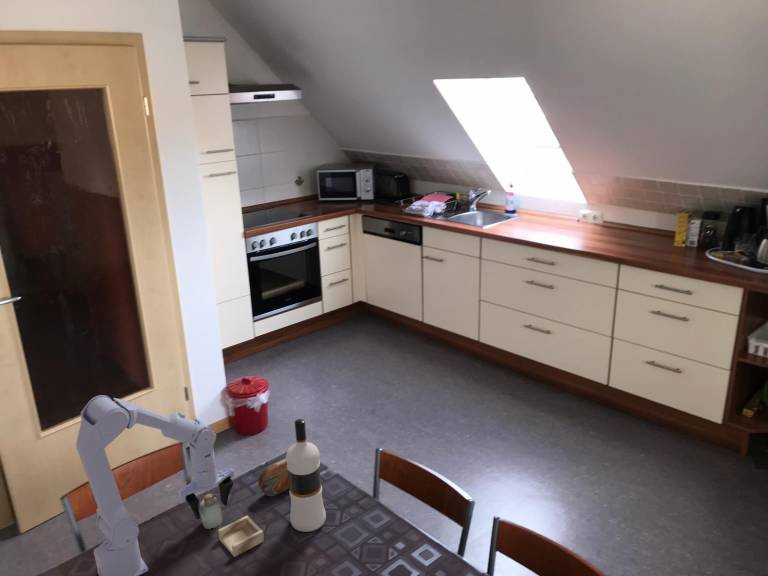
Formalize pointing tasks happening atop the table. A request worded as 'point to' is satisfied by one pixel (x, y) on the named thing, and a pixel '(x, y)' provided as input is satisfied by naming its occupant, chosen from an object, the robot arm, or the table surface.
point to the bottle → (210, 511)
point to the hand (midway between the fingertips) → (211, 510)
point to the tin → (274, 478)
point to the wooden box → (241, 536)
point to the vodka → (305, 483)
